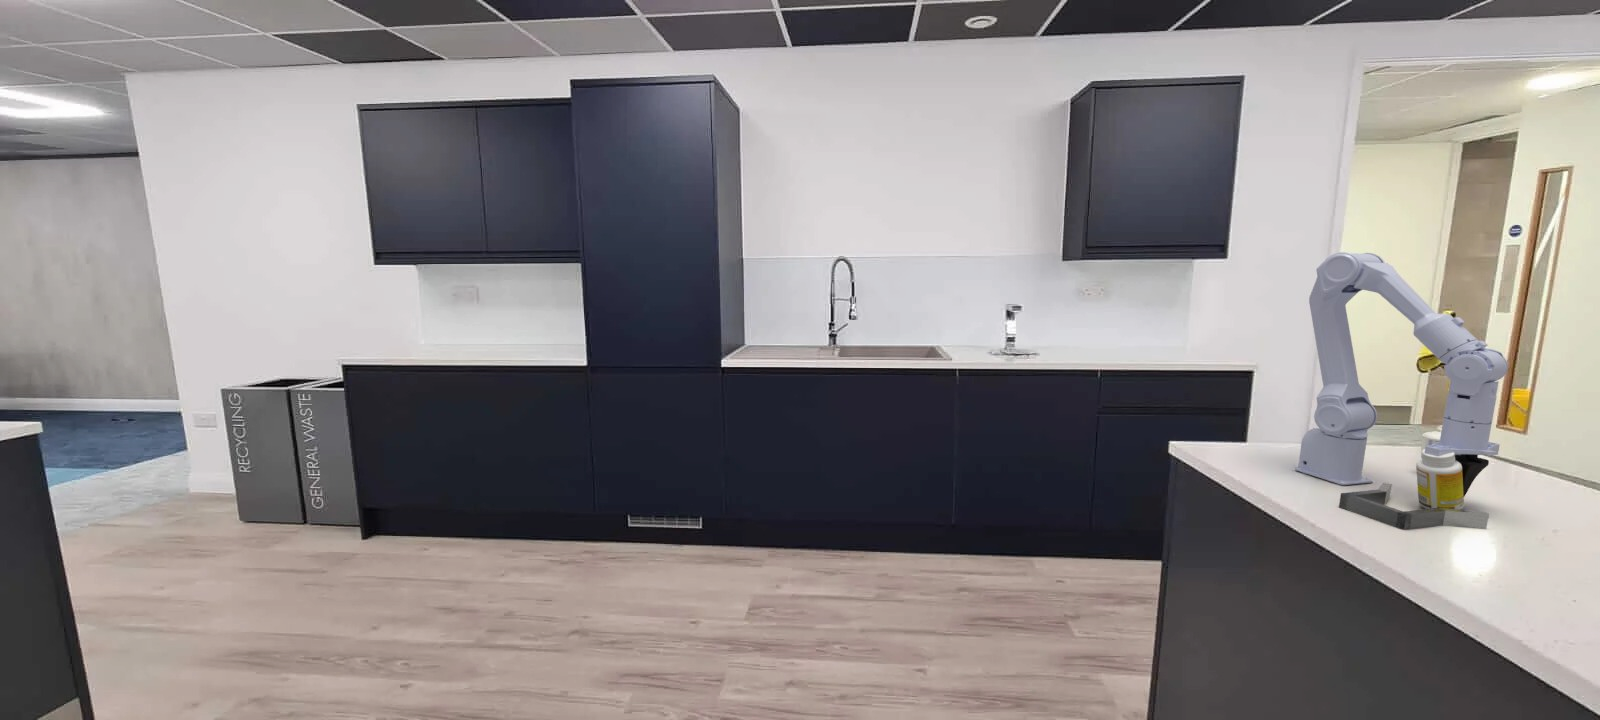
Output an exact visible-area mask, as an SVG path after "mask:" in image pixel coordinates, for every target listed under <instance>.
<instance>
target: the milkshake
mask: <svg viewBox="0 0 1600 720" xmlns="http://www.w3.org/2000/svg"><path fill="white" fill-rule="evenodd" d="M1417 428H1418V430H1419V432H1420V434H1421V447H1420V449H1421V450H1420V459H1422V450H1424V449H1425V447H1426V446H1430V445H1433V444H1434V443H1436V442H1438V441H1440V437H1441V431H1437V430H1432V431H1426V432H1424V433H1422V431H1421V429H1420V426H1419V425H1417Z"/></svg>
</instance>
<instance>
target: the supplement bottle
mask: <svg viewBox="0 0 1600 720" xmlns="http://www.w3.org/2000/svg"><path fill="white" fill-rule="evenodd" d="M1415 464H1416V465H1415V466H1416V467H1415V469H1416V482H1417V496H1418V497H1417V498H1418V503H1419V505H1420V507H1423V508H1424V509H1430V508H1448V509H1461V510H1463V508H1464V506H1465V501H1464V500H1465V499H1464V498H1465V496H1464V495H1463V475H1462V465H1461V464H1460V463H1459V462H1458V461H1456V460H1455V453H1454V452H1452V453H1445V454H1443V455H1441V456H1434V455H1430V454H1426V453H1425V449H1424V450H1422V459H1421V458H1419V459H1418V460H1417V461H1416V463H1415Z"/></svg>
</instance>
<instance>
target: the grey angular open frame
mask: <svg viewBox="0 0 1600 720" xmlns="http://www.w3.org/2000/svg"><path fill="white" fill-rule="evenodd" d="M1392 488H1393V484H1392V483H1388V482H1382V483H1381V485H1379V487H1378V488H1377V489H1370V490H1368V489H1367V490H1360V491H1350V492H1349V491H1348V492H1342V493H1340V495H1339V496H1340V497H1339V503H1338V507H1339V508H1341V509H1344V510H1347V511H1350V512H1351V513H1352V512H1353V513H1355V514H1358V515H1361V516H1364V517H1366V518H1368V519H1372V520H1375V521H1378V522H1380V523H1384V524H1386V525H1389V526H1392V527H1395V528H1397V529H1400V530H1404V531H1406V530H1414V529H1422V528H1429V527H1430V528H1432V527H1439V526H1446V527H1447V526H1448V527H1449V526H1451V527H1461V528H1472V529H1483V530H1484V529H1485V530H1487V527H1488V521H1489V515H1490V514H1489V513H1488V512H1485V511H1483V510H1475V509H1474V510H1471V509H1448V508H1430V509H1426V508H1424V509H1414V510H1406V511H1403V510H1399V509H1397V508H1394V507H1391V506H1388V505H1386V504H1387V502H1388V501H1389V500H1390V499H1391V493H1392Z"/></svg>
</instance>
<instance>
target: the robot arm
mask: <svg viewBox="0 0 1600 720" xmlns="http://www.w3.org/2000/svg"><path fill="white" fill-rule="evenodd" d="M1315 272H1316V276H1317V277H1316V280H1315V281H1314V285H1313V287H1312V290H1311V292H1310V295H1309V299H1308V302H1309V309H1310V314H1311V321H1312V327H1313V333H1314V339H1315V343H1316V351H1317V356H1318V357H1317V358H1318V361H1319V362H1318V363H1319V367H1320V368H1319V369H1320V374H1321V380H1322V389H1321V390H1320V391H1319V393H1318V394H1317V396H1316V403H1317V404H1316V409H1315V411H1314V416H1313V417H1314V422H1315V424H1316V426H1317V427H1318V428H1317V427H1315V428H1311V429H1308V430H1307V431H1306V432H1305V434H1304V435H1303V437H1302V439H1301V443H1300V452H1299V458H1298V459H1299V460H1298V467H1295V468H1294V470H1295V471H1297V472H1301V473H1303V474H1306V475H1310V476H1312V477H1316V478H1319V479H1322V480H1325V481H1329V482H1331V483H1335V484H1338V485H1341V486H1348V485H1358V484H1368V483H1370V484H1371V483H1373V482H1374V480H1373V479H1371V478H1368V477H1364V476H1362V474H1363V470H1364V469H1363V468H1364V463H1365V462H1364V461H1365V455H1366V449H1367V442H1368V430H1370V429H1371V428H1372V427H1374V426H1375V425H1376V423H1377V421H1378V411H1377V409H1376V408H1375V406H1374V405H1373V404H1372V403H1371V401H1370V399H1369V394H1368V391H1366V390H1365V388H1364V387H1362V386H1361V384H1360V381H1359V377H1358V371H1357V365H1356V361H1355V360H1356V359H1355V353H1354V348H1353V342H1352V336H1351V330H1350V325H1349V319H1348V313H1347V308H1346V305H1347V304H1348V302H1350V301H1351V300H1352V299H1353V298H1354V297H1355V296H1357V294H1358V293H1360V292H1361V291H1368V292H1371V293H1372V292H1373V293H1376V294H1379V295H1380V296H1381V297H1382V298H1383V299H1385V301H1387V302H1388V303H1389V304H1390V305H1391V306H1393V307H1394V308H1395V309H1396V310H1397V311H1398V312H1400V314H1402V315H1403V316H1404V317H1405V318H1407V319H1408V320H1409V321H1410V322H1411V323H1412V324H1413V325H1414V326H1413V332H1412V334H1413V336H1414V337H1415V338H1416V339H1417V340H1418V341H1419V342H1420V343H1421V344H1422V345H1423V346H1424V347H1425V348H1426V349H1428V351H1429V352H1430V353H1432V354H1433V356H1434V357H1436V359H1438V360H1439V361H1440V362H1441V364H1444V367H1443V370H1444V373H1445V375H1446V377H1447V378H1448V380H1449V385H1448V386H1449V387H1448V391H1447V397H1446V402H1445V403H1446V404H1445V408H1444V414H1443V419H1442V425H1441V431H1440V432H1441V437H1440V441H1438V442H1436V443H1434V444H1433V445H1430V446H1426V447H1425V453H1426V454H1430V455H1434V456H1441V455H1443V454H1445V453H1452V452H1454V453H1455V460H1456V461H1458V462H1459V463H1460V464H1461V465H1462V475H1463V495H1464V497H1466V494H1467V493H1468V491H1469V489H1470V487H1471V486H1472V484H1473V482H1474V481H1475V479H1476V478H1477V477H1478V475H1479V474H1480V473H1481V472H1482V471H1483V470H1484V469H1486V468H1487V467H1488V466H1489V464H1490V461H1489V459H1485V458H1481V457H1479V456H1482V455H1483V456H1489V457H1490V456H1491V457H1492V456H1498V455H1499V451H1500V445H1501V444H1500V443H1497V442H1492V441H1489V440H1490V434H1491V429H1492V423H1493V420H1494V413H1495V407H1496V404H1497V403H1496V401H1497V393H1498V387H1499V380H1501V379H1503V377H1505V376H1506V375H1507V373H1508V369H1509V363H1508V361H1507V359H1506V358H1505V357H1504V355H1503V353H1502V352H1501V351H1499V350H1496V349H1494V348H1493V349H1492V348H1487V346H1489V344H1488V343H1487V342H1485V341H1484V340H1478V338H1477V337H1475V336H1474V335H1473V333H1471V332H1470V331H1468V329H1467V328H1466V327H1464V326H1463V325H1464V324H1465V321H1464V320H1463V319H1462V318H1461V317H1460V316H1459V317H1453V316H1452V315H1451V314H1448V313H1437V312H1436V311H1434V309H1432V307H1431V306H1430V305H1429V304H1428V303H1427V302H1426V301H1425V300H1424V299H1423V298H1422V297H1421V296H1420V295H1419V294H1418V293H1417V292H1416V291H1415V290H1414V288H1413V287H1411V285H1409V284H1408V283H1407V281H1406V280H1405V279H1404V278H1403V277H1402V276H1401V275H1400V274H1399V273H1398V272H1397V270H1396V269H1395V268H1394V266H1393V265H1391V264H1390V263H1388V262H1385V260H1384V259H1383V258H1382V257H1381V255H1378V254H1375V253H1372V252H1364V253H1352V252H1346V251H1342V252H1336V253H1333V254H1331V255H1330V256H1328V257H1327V258H1326V259H1325V260H1324V261H1323V262H1322V263H1321V264H1320V265H1319V266H1317V268H1316V271H1315Z"/></svg>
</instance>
